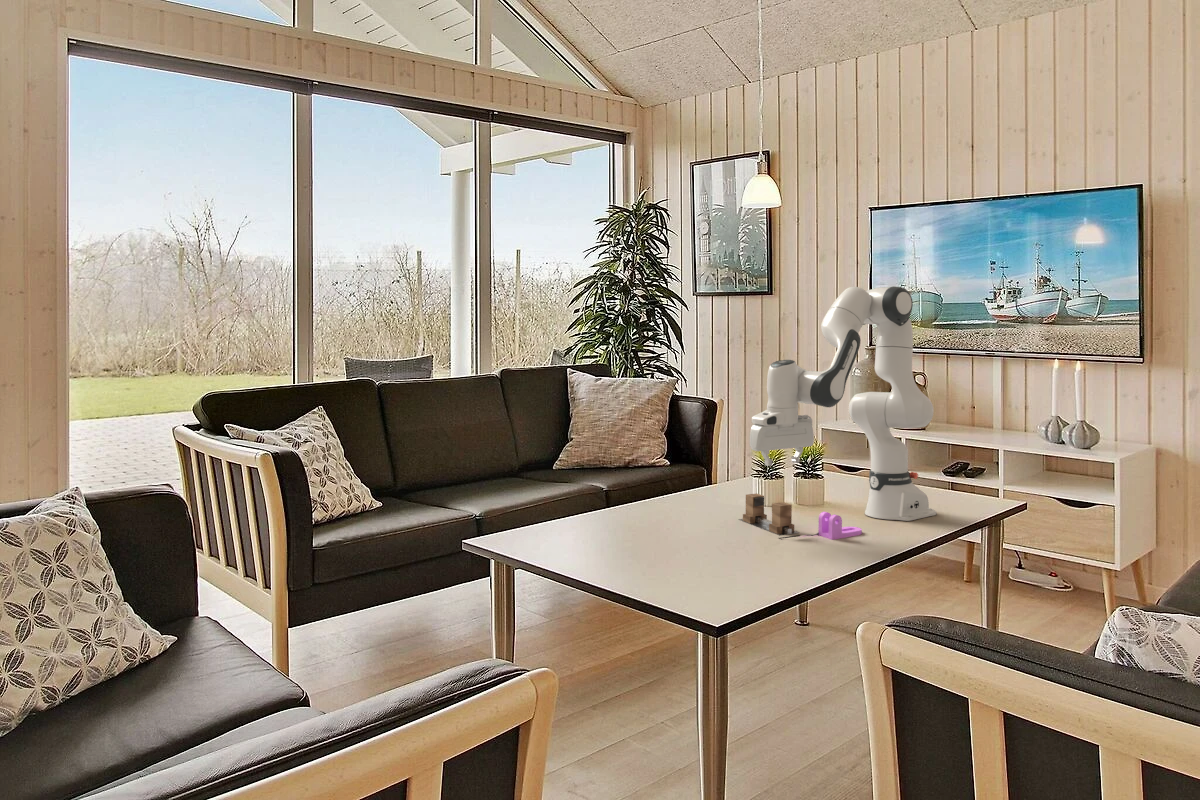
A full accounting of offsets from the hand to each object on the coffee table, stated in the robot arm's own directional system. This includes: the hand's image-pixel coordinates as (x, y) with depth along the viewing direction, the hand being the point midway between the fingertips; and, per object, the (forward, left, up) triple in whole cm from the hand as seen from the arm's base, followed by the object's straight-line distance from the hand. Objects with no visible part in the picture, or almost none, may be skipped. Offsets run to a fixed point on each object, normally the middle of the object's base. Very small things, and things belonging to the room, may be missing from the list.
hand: (782, 464), depth 258 cm
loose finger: (0, 0, -20) cm, 20 cm away
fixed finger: (0, -14, -20) cm, 24 cm away
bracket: (-15, +8, -21) cm, 27 cm away
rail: (0, -7, -21) cm, 22 cm away
